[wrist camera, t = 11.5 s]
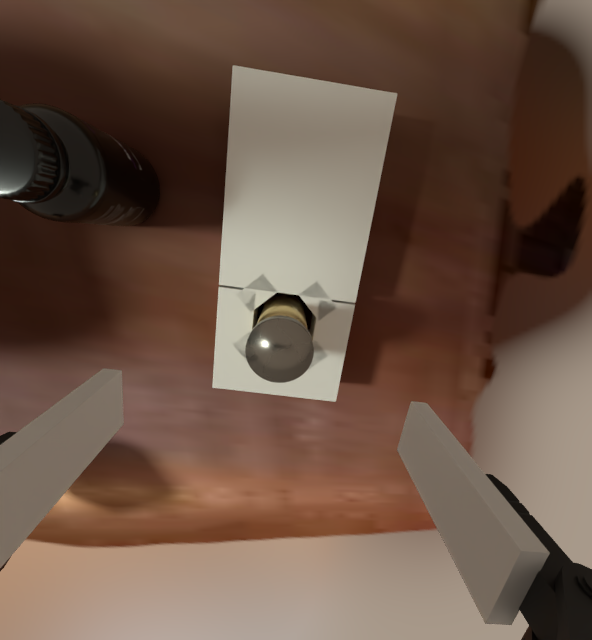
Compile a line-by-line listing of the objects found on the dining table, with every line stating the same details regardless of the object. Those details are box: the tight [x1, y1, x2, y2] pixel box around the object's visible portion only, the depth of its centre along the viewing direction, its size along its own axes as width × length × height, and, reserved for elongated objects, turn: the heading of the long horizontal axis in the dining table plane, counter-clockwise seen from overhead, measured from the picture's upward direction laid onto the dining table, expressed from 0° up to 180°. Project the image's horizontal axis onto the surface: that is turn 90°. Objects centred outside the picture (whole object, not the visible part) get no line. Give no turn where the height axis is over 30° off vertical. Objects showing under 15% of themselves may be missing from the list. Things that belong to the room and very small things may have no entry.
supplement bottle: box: [0, 99, 160, 226], centre depth 21 cm, size 7×7×12 cm
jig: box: [212, 65, 397, 402], centre depth 26 cm, size 12×26×4 cm, turn 172°
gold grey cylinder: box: [245, 294, 314, 383], centre depth 25 cm, size 5×5×10 cm
